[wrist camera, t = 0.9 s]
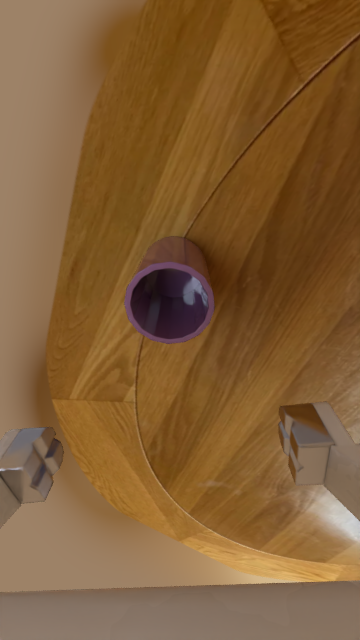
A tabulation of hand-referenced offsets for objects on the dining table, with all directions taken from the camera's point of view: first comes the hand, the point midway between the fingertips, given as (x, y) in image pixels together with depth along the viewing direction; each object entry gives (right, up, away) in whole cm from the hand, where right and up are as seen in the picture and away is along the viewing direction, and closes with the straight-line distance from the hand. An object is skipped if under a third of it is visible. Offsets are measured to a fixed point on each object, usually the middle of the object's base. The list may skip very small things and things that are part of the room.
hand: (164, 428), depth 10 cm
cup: (0, +9, +18) cm, 21 cm away
